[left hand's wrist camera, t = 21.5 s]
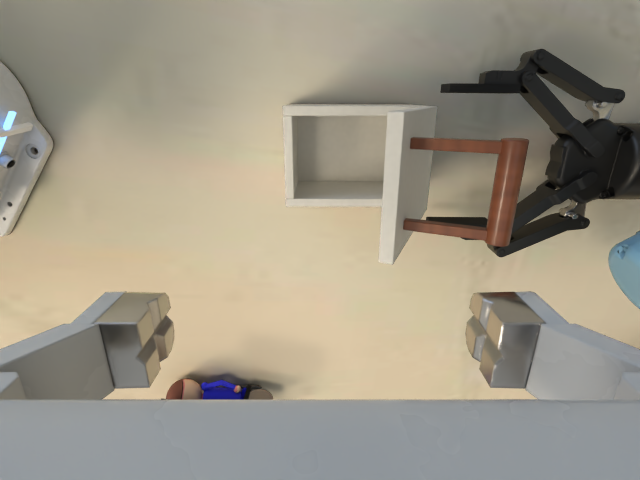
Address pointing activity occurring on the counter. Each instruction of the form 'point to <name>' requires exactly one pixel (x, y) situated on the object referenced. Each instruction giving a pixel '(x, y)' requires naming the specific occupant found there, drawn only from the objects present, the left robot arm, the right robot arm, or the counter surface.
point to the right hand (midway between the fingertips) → (436, 160)
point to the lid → (414, 178)
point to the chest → (335, 153)
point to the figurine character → (215, 391)
